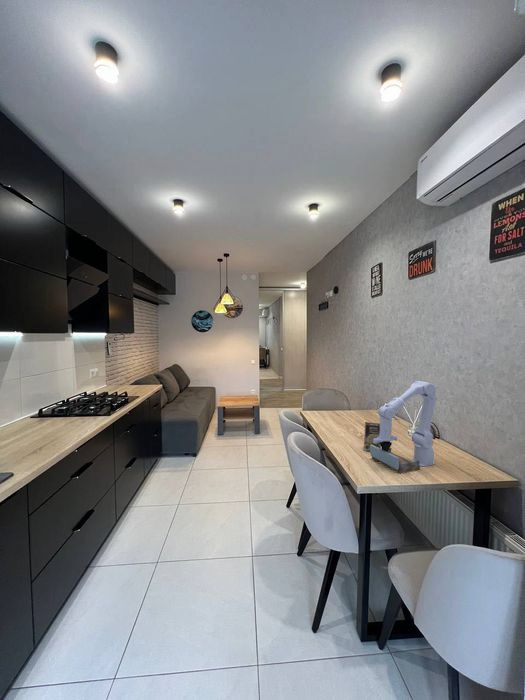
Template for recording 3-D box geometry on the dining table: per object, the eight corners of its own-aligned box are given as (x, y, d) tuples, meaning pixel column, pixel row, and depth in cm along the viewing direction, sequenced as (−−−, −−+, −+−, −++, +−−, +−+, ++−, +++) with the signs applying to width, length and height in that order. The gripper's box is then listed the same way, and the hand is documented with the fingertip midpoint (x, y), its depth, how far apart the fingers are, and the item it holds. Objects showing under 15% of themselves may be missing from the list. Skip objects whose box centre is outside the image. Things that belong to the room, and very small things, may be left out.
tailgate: (372, 455, 165) (371, 444, 165) (399, 469, 147) (398, 457, 147) (370, 455, 165) (369, 444, 164) (397, 469, 147) (396, 458, 146)
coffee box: (364, 451, 175) (365, 424, 175) (363, 447, 181) (364, 421, 181) (381, 453, 173) (381, 426, 172) (379, 449, 179) (380, 423, 178)
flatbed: (390, 455, 170) (390, 447, 170) (419, 469, 152) (420, 460, 152) (372, 458, 166) (372, 450, 166) (400, 473, 147) (400, 464, 147)
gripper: (390, 426, 162) (389, 450, 162) (369, 428, 157) (368, 454, 157) (400, 429, 155) (400, 455, 156) (378, 432, 150) (378, 459, 151)
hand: (384, 455), depth 156 cm, fingers closed, pressing on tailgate
